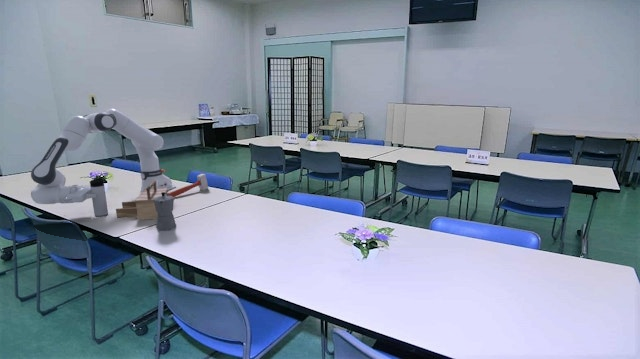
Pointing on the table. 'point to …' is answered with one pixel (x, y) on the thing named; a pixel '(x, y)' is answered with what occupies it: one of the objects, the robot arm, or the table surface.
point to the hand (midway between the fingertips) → (99, 193)
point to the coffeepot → (164, 212)
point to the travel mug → (99, 197)
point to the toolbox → (142, 204)
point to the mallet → (192, 186)
